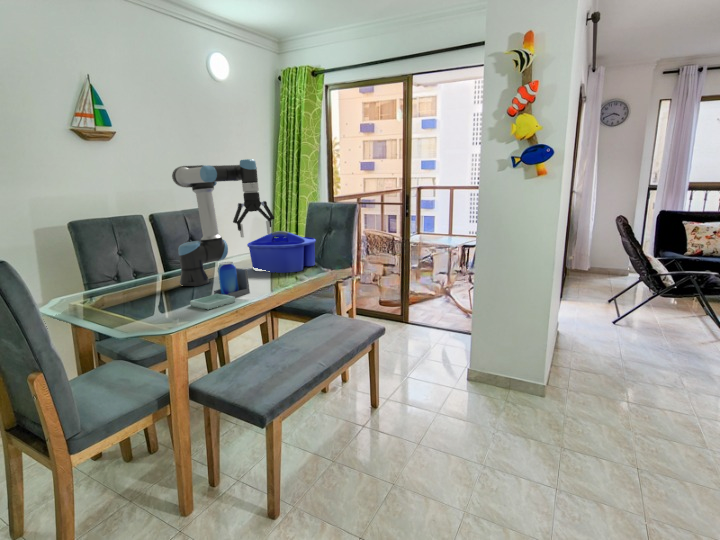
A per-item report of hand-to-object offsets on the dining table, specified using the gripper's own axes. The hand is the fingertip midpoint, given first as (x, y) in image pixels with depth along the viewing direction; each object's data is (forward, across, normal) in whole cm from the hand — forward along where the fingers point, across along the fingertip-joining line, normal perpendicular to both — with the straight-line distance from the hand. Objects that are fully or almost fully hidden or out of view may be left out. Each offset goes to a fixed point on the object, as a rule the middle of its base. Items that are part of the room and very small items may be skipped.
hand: (255, 235), depth 214 cm
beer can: (+28, -16, 0) cm, 32 cm away
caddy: (+28, +30, +45) cm, 61 cm away
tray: (+27, -27, -12) cm, 40 cm away
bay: (+27, -15, 0) cm, 31 cm away
